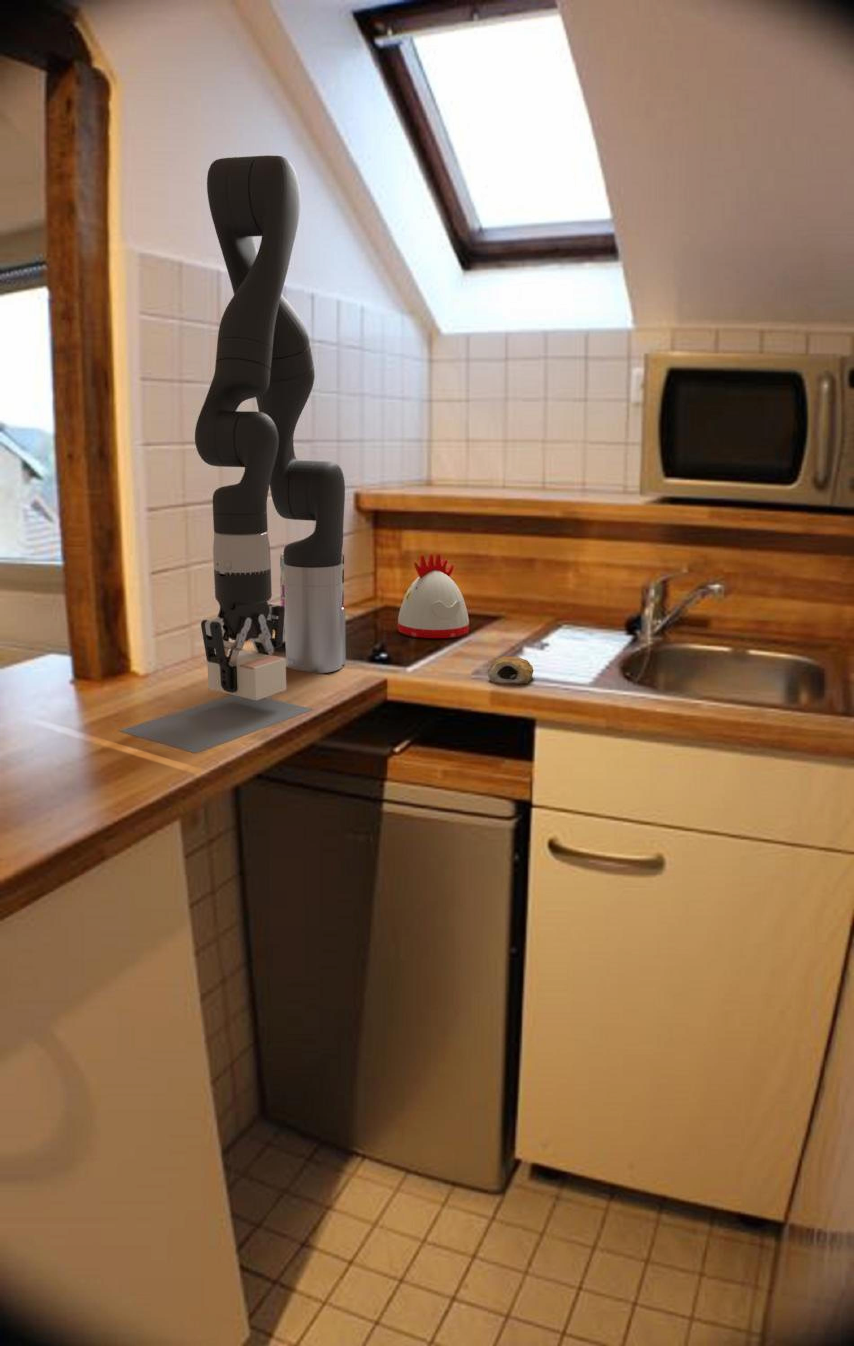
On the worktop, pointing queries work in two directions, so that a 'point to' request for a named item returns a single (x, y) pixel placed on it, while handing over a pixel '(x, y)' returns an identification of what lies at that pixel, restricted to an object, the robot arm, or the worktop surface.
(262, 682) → the card deck
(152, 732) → the mat
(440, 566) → the kitchen timer
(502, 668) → the pastry
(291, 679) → the worktop surface
